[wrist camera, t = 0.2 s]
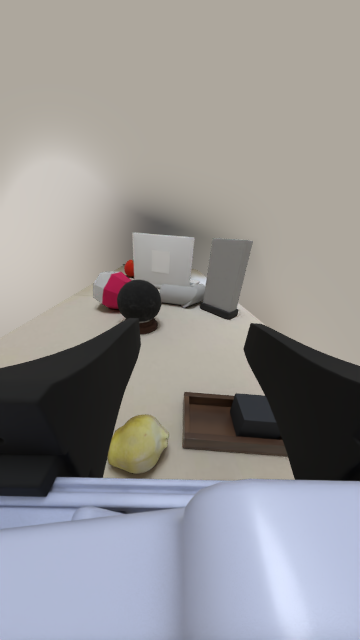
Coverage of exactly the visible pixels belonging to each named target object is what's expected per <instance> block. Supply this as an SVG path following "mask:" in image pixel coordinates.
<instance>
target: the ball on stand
mask: <svg viewBox="0 0 360 640" xmlns="http://www.w3.org/2000/svg"><path fill="white" fill-rule="evenodd" d="M117 304H118V308H119V311H120V312H121V314H122V315H123V316H124V317H125V318H126V319H128V318H139V327H140V334H147V333H150V332H153V331H155V330H156V329H157V326H158V324H157V321H156V320H155V319H154V317H155V316H156V315H157V314H158V312H159V310H160V307H161V297H160V293H159V291H158V290H157V288H156V287H155V286H154V285H153V284H151V283H149V282H148V281H145V280H132V281H130V282H128V283H126V284H125V285H124V286H123V287H122V288H121V289H120V291H119V293H118V296H117ZM126 319H125V320H126Z"/></svg>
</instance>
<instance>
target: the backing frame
mask: <svg viewBox="0 0 360 640" xmlns="http://www.w3.org/2000/svg"><path fill="white" fill-rule="evenodd" d="M233 399H234V396H229V395H216V394H204V393H191V392H184V400H183V448H185V449H198V450H211V451H224V452H238V453H251V454H264V455H277V456H288V455H287V452H286V449H285V446H284V443H283V440H282V437H281V435H280V437H279V439H278V440H276V439H263V438H251V437H238V436H236V433H235V429H234V426H233V422H232V418H231V414H230V409H231V406H232V403H233Z"/></svg>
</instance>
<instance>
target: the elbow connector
mask: <svg viewBox="0 0 360 640" xmlns="http://www.w3.org/2000/svg"><path fill="white" fill-rule="evenodd" d="M204 293H205V286H204V285H203V284H196V285H192V286H189V287H186V286H177V285H169V284H162V285H161V288H160V297H161V302H163V303H171V304H178V305H181V306H182V307H187V306H190V305H192V304H195V303H198V302H200V301H203V300H204Z"/></svg>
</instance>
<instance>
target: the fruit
mask: <svg viewBox="0 0 360 640" xmlns="http://www.w3.org/2000/svg"><path fill="white" fill-rule="evenodd" d="M168 438H169V432H168V431H167V430H166V429H165V428H164V427H162V426H161V425H160V423H159V422H158V421H157V419H156V418H155V417H153V416H151V415H138V416H135V417H133V418H131V419H130V420H128V421H127V422H126V424H125V425H124V426H122V427H120V428H119V429H117V430H116V431H115V433H114V435H113V437H112V440H111V444H110V448H109V452H108V462H109V464H111V465H112V466H115V467H118V468H121V469H123V470H126V471H128V472H131V473H134V474H138V473H143V472H146V471H148V470H150V469H151V468H152V467H154V465H155V464H156V463H157V461H158V459H159V457H160V454H161V453H162V451H163V450H164V449H165V448H167V444H168Z"/></svg>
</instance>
